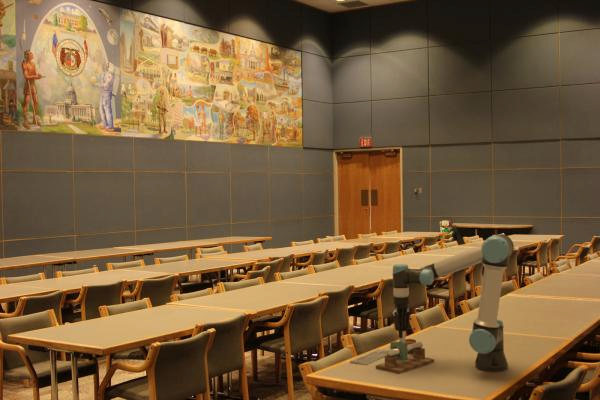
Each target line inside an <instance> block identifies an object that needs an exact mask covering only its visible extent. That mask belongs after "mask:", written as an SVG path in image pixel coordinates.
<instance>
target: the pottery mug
mask: <svg viewBox="0 0 600 400" xmlns="http://www.w3.org/2000/svg"><path fill="white" fill-rule="evenodd" d="M416 342H417V340H416V339H412V338H407V339H406V338H405V343H407V345H409V344H413V343H416ZM407 355H413V351H409V352H407Z"/></svg>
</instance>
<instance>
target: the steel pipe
mask: <svg viewBox="0 0 600 400" xmlns="http://www.w3.org/2000/svg"><path fill="white" fill-rule="evenodd" d="M419 348H423V343H422V342H421V341H416V343H413V344H409V345H407V352H409V351H413V350H416V349H419ZM395 355H401V351H400V347H397V348H395V349H392V350H391V349H388V350H387V356H388V357H392V356H395Z"/></svg>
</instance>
